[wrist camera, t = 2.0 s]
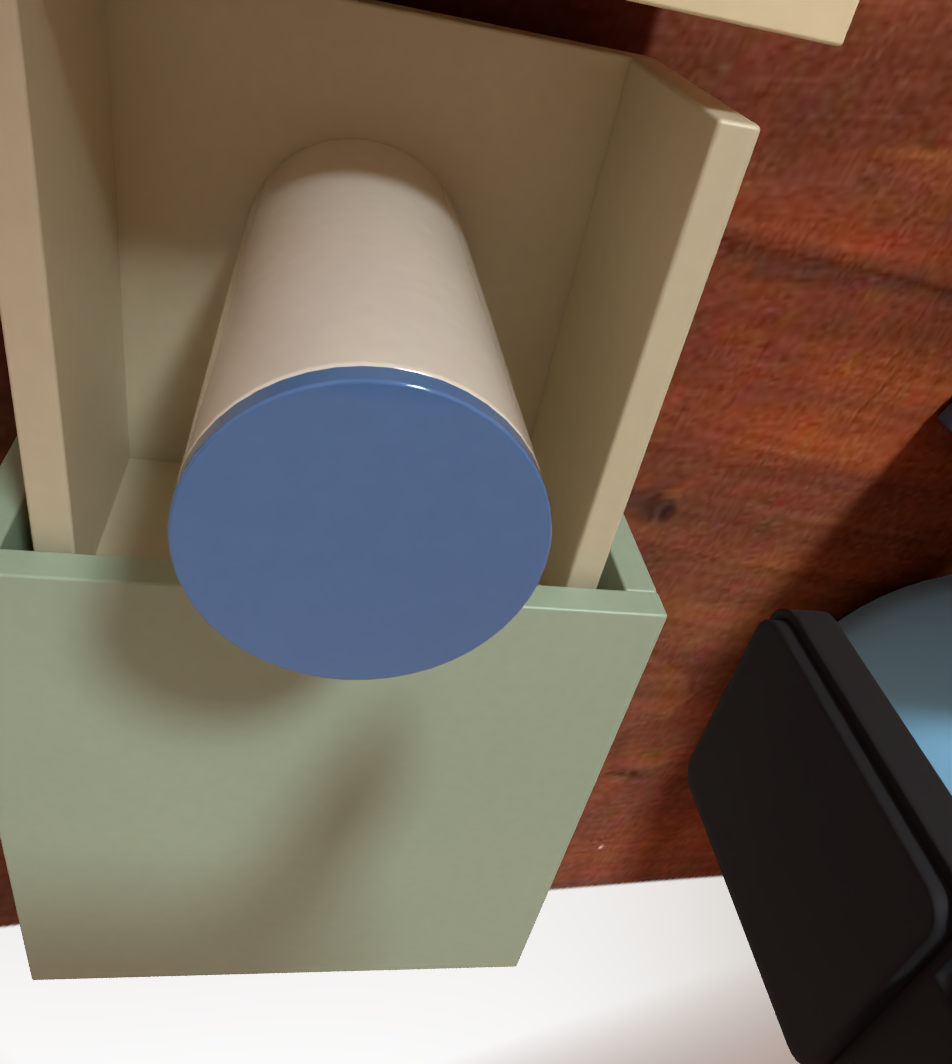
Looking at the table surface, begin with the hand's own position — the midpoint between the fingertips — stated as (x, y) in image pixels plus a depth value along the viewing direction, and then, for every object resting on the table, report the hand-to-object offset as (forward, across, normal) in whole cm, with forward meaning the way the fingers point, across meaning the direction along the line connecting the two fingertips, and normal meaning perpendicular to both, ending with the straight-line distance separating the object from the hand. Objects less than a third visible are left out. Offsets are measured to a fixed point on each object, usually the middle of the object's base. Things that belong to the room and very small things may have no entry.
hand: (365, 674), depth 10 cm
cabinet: (+15, 0, +12) cm, 19 cm away
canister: (+13, 0, 0) cm, 13 cm away
